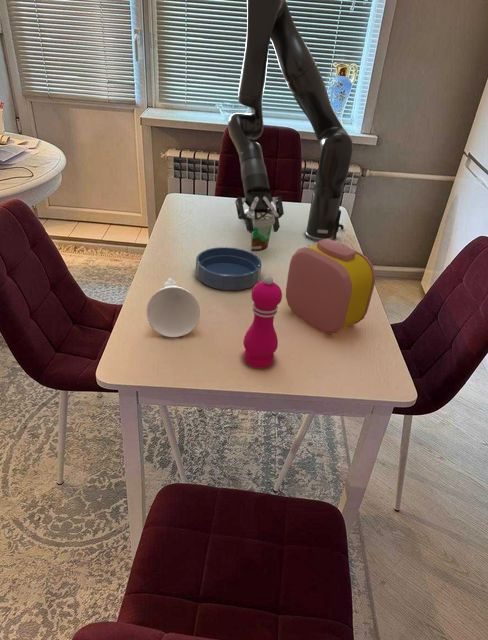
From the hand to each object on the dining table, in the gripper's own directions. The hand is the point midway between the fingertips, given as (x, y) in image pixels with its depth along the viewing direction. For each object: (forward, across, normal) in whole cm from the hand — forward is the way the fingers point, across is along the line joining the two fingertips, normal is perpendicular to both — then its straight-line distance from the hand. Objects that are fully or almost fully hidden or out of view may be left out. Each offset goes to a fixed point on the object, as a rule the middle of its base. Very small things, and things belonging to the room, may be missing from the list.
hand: (264, 231), depth 144 cm
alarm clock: (+31, +2, -21) cm, 38 cm away
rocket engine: (+26, -31, -14) cm, 43 cm away
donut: (-13, +8, +24) cm, 29 cm away
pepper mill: (+40, -19, -29) cm, 53 cm away
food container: (+3, 0, +5) cm, 5 cm away
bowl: (+13, -14, -2) cm, 19 cm away
